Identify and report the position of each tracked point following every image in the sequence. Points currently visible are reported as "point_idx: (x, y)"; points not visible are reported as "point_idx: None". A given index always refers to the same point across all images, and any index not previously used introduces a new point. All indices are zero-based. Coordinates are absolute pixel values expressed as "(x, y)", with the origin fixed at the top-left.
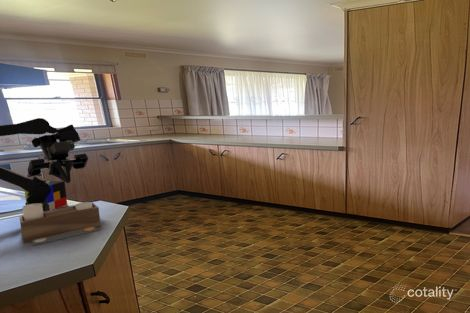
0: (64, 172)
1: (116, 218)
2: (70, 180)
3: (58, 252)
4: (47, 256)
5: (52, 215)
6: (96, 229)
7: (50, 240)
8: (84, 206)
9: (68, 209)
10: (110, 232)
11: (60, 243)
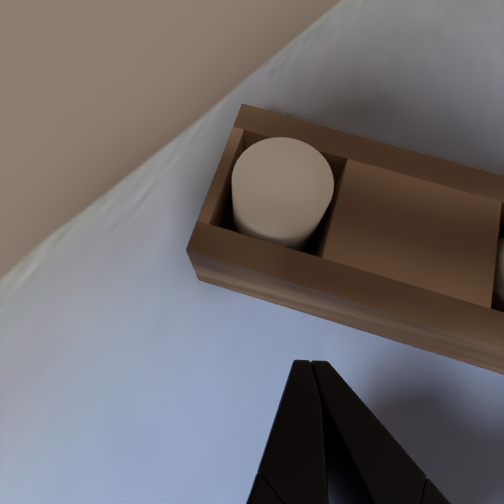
0: (375, 492)
1: (138, 185)
2: (293, 361)
3: (462, 57)
4: (495, 57)
5: (469, 193)
6: (289, 116)
7: (458, 162)
8: (300, 143)
9: (362, 230)
10: (268, 62)
11: (434, 119)
